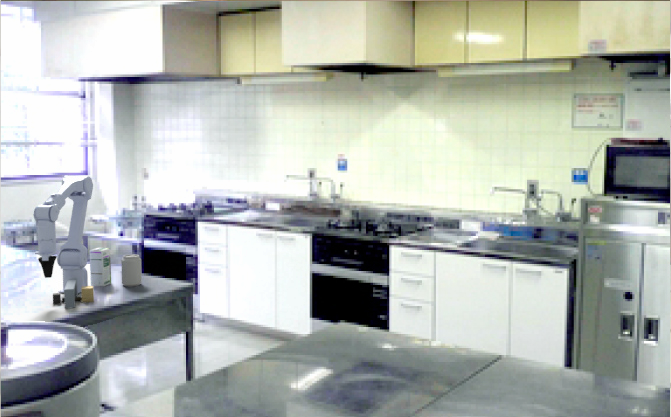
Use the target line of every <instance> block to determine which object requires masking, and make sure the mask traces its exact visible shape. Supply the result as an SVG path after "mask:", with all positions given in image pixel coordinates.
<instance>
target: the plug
mask: <svg viewBox="0 0 671 417" xmlns="http://www.w3.org/2000/svg"><path fill="white" fill-rule="evenodd" d="M94 291H95V290H94V286H92V285H88V286H82V288H81V292H80V293H81V296H77V297H75V303H76V302H81V303H94V302H95V300H94V299H95V297H94V296H95V295H94V294H95V292H94ZM61 294H62V293H59V292H57V293H56V292H54V293H52V305H53V304H54V305H55V304H56V305H57V304H61V303H65V297H62V296H61Z"/></svg>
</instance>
